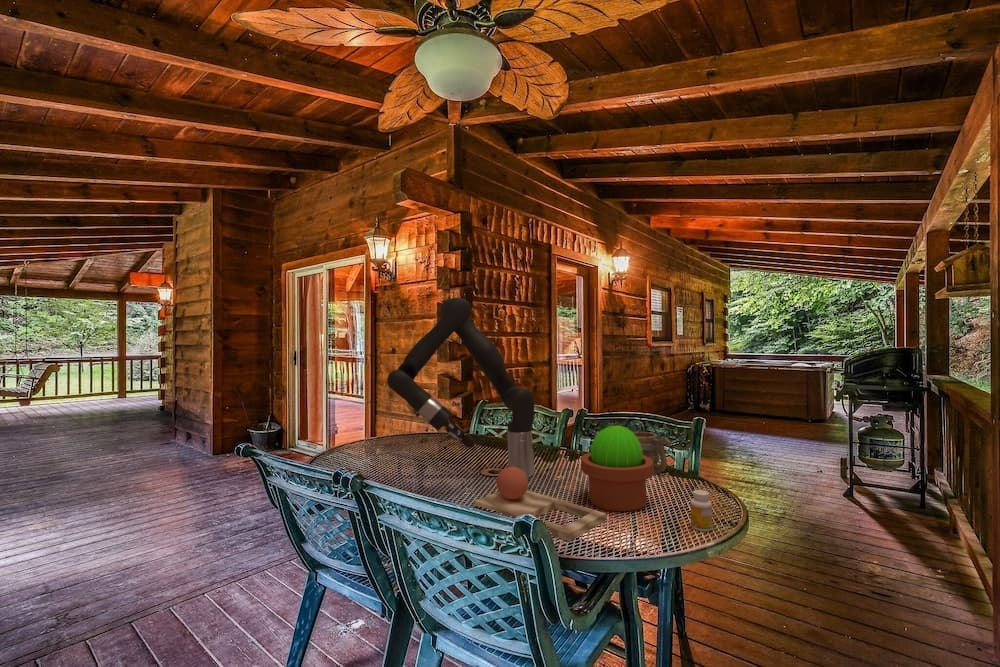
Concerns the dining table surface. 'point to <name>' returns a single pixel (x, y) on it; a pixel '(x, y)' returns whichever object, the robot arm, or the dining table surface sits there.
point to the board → (541, 505)
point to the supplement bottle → (701, 511)
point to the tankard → (653, 449)
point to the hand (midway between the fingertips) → (471, 445)
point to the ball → (512, 483)
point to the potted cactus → (617, 470)
